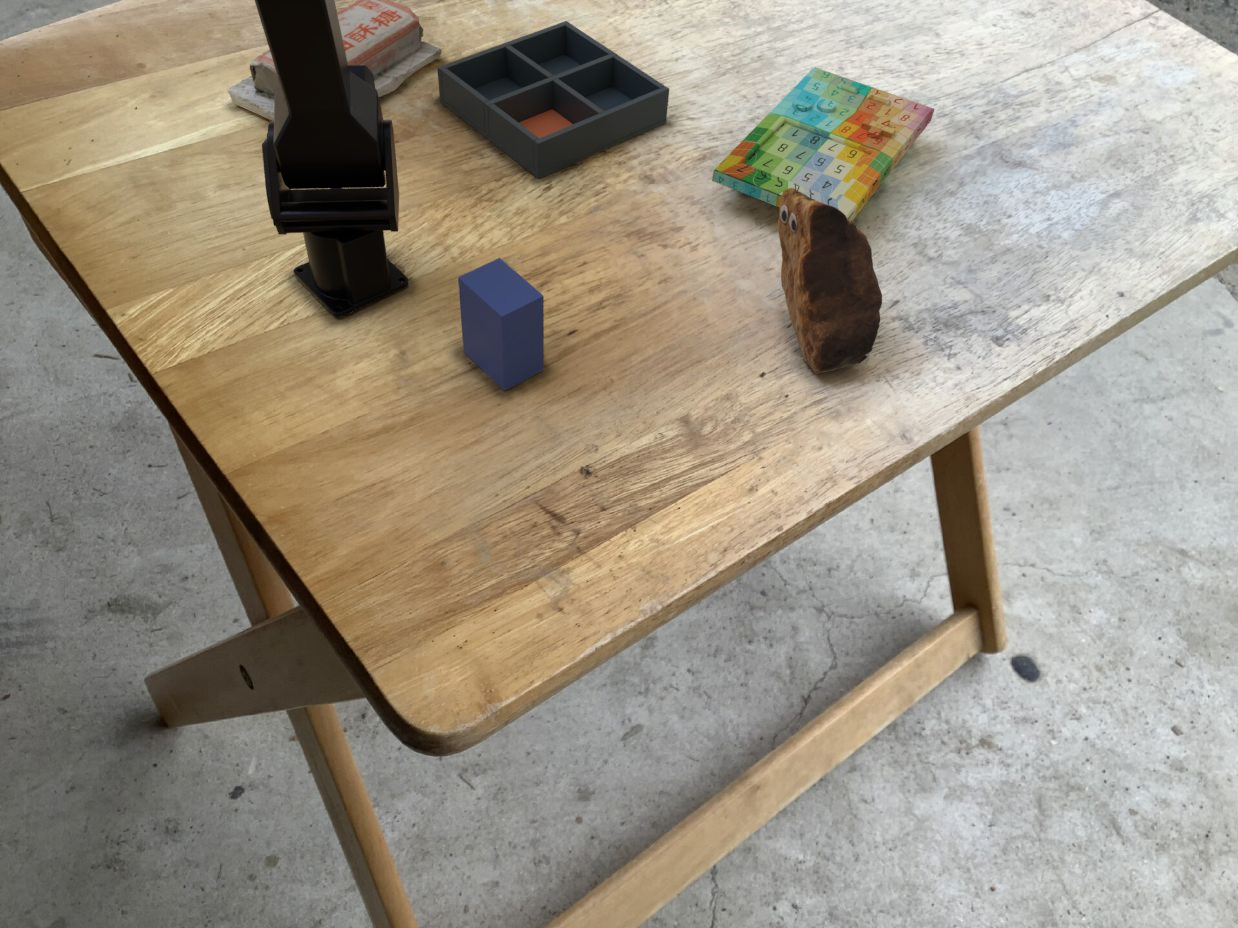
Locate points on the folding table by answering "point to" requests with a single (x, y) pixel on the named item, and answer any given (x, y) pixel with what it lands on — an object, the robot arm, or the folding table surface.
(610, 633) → the folding table surface
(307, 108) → the robot arm
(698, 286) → the folding table surface
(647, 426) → the folding table surface
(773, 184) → the puzzle game
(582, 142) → the organiser
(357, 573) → the folding table surface
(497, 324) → the carton
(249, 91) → the packaged product
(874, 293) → the decorative rock
